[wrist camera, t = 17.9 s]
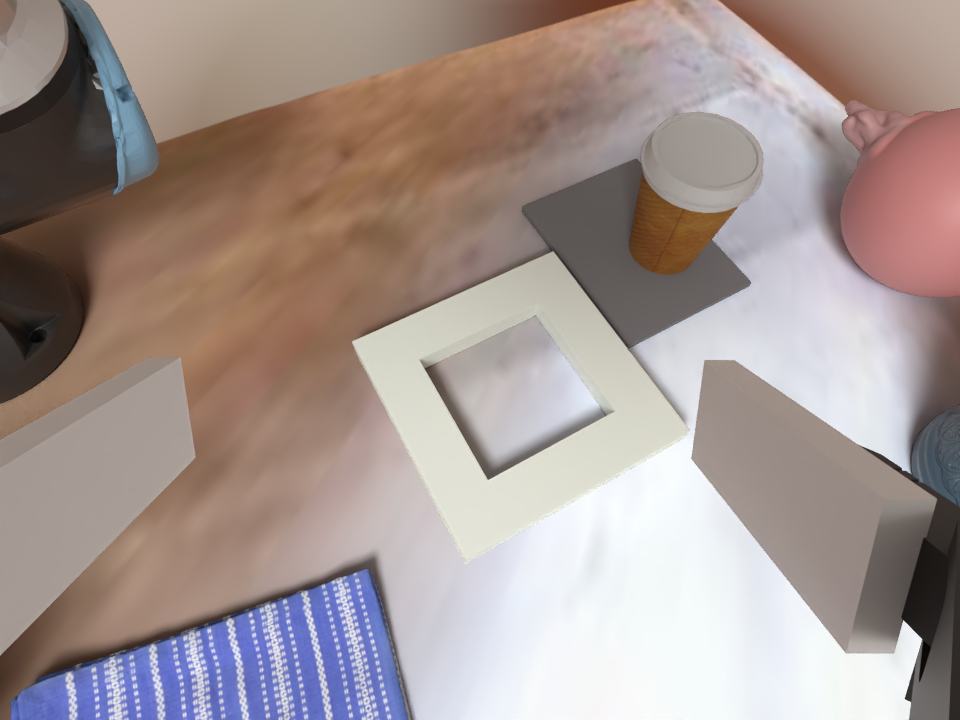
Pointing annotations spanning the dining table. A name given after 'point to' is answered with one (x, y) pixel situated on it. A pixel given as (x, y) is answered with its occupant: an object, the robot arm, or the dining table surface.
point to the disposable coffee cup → (690, 187)
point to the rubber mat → (626, 257)
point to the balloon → (905, 199)
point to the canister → (940, 455)
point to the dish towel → (244, 667)
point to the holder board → (557, 469)
